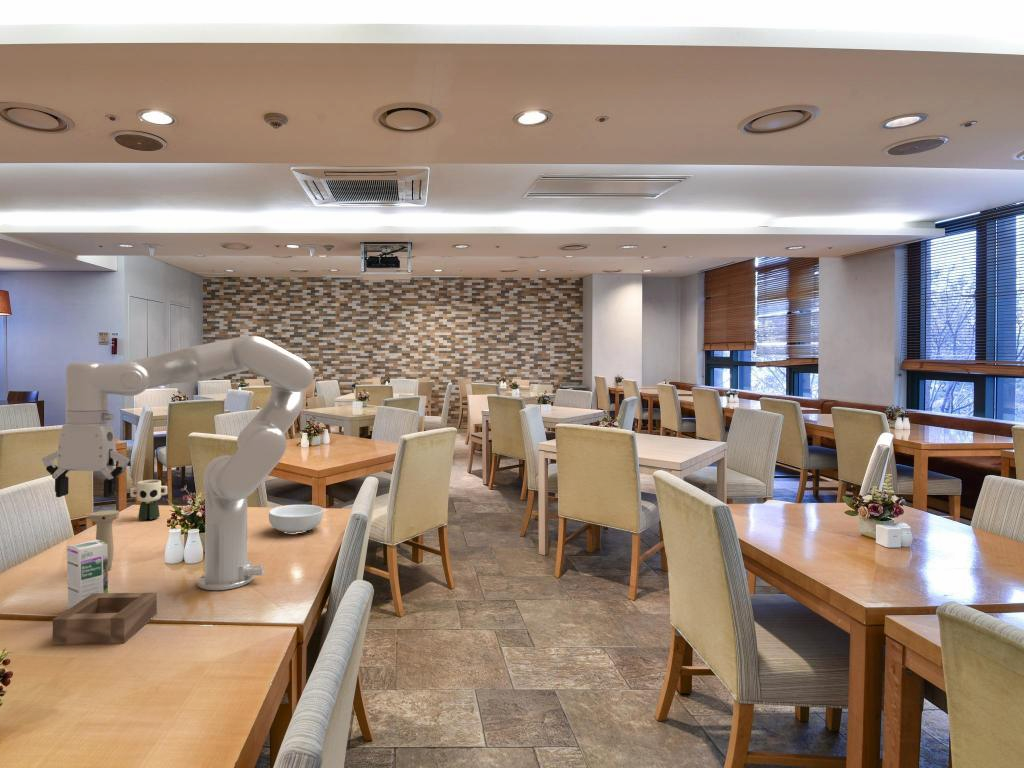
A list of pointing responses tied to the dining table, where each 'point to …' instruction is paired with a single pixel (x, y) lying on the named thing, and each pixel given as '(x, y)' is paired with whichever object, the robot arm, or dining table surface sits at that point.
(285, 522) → the cereal bowl
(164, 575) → the dining table surface
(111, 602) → the socket
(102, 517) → the handle
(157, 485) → the character mug
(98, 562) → the syrup box
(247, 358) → the robot arm
